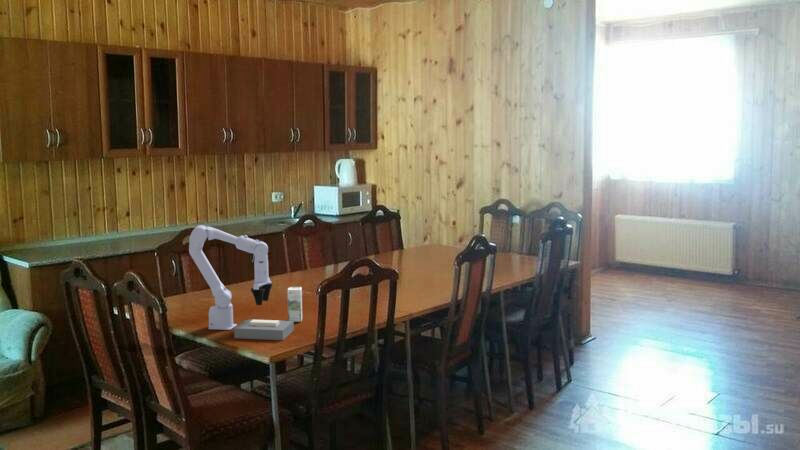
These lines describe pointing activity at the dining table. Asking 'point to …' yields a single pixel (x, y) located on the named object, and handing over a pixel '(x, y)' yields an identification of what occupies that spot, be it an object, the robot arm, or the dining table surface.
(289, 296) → the syrup box
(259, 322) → the tee block
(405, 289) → the dining table surface
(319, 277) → the dining table surface
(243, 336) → the slotted board
